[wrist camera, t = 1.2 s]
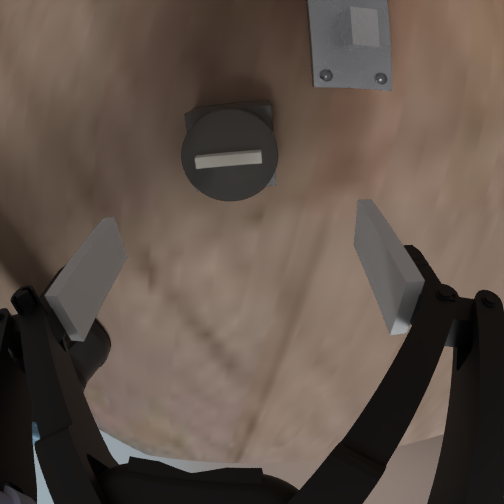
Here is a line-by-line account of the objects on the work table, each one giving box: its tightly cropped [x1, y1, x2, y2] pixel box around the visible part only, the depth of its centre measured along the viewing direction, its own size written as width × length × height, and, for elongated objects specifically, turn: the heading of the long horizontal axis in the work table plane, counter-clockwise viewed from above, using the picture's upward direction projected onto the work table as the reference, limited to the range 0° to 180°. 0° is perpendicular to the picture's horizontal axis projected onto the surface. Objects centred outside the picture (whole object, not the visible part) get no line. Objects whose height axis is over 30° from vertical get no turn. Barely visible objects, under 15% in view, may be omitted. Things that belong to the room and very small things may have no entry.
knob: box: [181, 100, 278, 201], centre depth 26 cm, size 8×8×8 cm
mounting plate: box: [306, 0, 392, 91], centre depth 21 cm, size 8×12×5 cm, turn 5°
